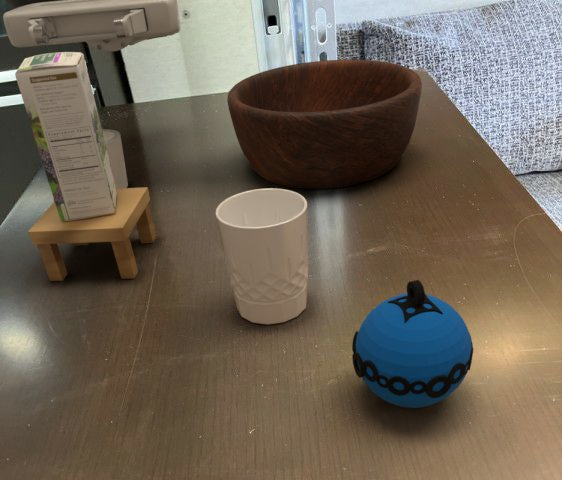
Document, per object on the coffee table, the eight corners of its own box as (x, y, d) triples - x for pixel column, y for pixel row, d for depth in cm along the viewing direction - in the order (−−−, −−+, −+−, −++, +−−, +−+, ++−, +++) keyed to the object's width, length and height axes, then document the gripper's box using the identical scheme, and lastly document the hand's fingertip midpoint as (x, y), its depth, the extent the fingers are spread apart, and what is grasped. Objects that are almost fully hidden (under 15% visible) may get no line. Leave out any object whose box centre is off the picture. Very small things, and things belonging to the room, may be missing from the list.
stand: (46, 282, 67) (27, 231, 63) (78, 239, 75) (62, 191, 71) (136, 280, 66) (122, 227, 62) (159, 235, 73) (147, 186, 70)
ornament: (489, 415, 46) (508, 299, 39) (380, 445, 44) (382, 330, 38) (434, 350, 52) (443, 241, 46) (337, 374, 51) (333, 266, 44)
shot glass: (106, 175, 90) (93, 126, 85) (142, 182, 87) (130, 130, 82) (72, 194, 86) (56, 143, 81) (108, 201, 82) (94, 148, 78)
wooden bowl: (267, 216, 75) (258, 129, 68) (218, 151, 94) (207, 78, 87) (453, 174, 80) (460, 89, 73) (370, 121, 98) (371, 49, 92)
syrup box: (66, 201, 68) (19, 56, 59) (119, 193, 69) (82, 48, 60) (60, 223, 64) (10, 70, 55) (118, 214, 64) (77, 61, 55)
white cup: (214, 309, 60) (196, 211, 54) (273, 275, 64) (263, 181, 58) (271, 339, 55) (258, 236, 49) (330, 301, 59) (326, 201, 53)
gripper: (17, -12, 77) (-25, 8, 66) (181, -27, 76) (164, -10, 65) (34, 45, 81) (-4, 72, 70) (189, 31, 80) (175, 56, 69)
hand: (79, 32), depth 68 cm, fingers open, 8 cm apart
